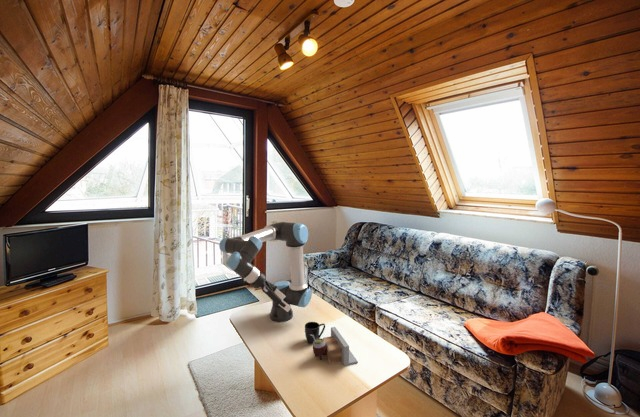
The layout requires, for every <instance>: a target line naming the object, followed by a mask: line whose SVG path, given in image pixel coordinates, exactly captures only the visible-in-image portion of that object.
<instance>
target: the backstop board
mask: <svg viewBox="0 0 640 417" xmlns="http://www.w3.org/2000/svg"><path fill="white" fill-rule="evenodd" d="M331 336H333V337H334V338H335V339H336V341H337V342H338V344H339V345H340V347H341V348H342V362H341V363H342V364H343V366H344V367H347V366H350V365H356V364H358V360H357V358H356V357H355V355H354V354H353V353H352V352H351V350H350V345H349V344H348V343H347V341H346V340H345V338H344V337H343V336H342V334H341V333H340V332H339V330H338V329H337V327H336V326H332V327H330V337H331Z"/></svg>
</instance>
